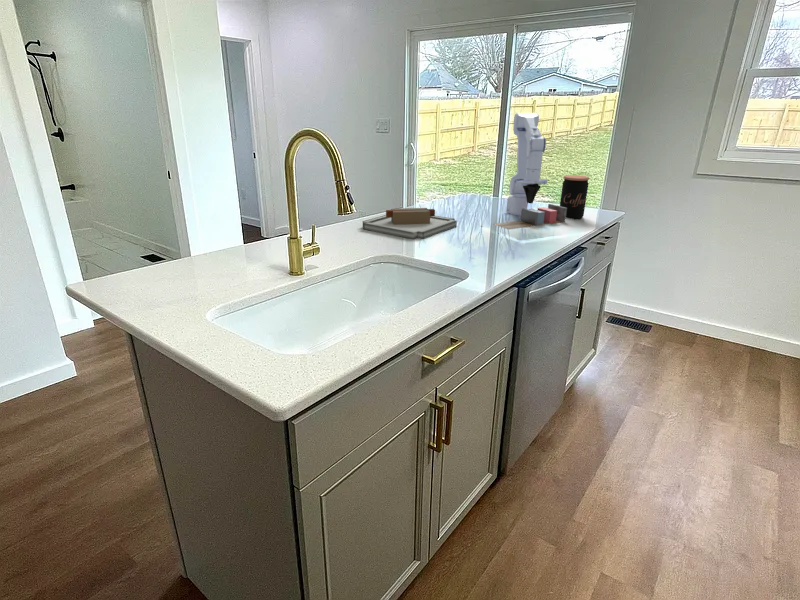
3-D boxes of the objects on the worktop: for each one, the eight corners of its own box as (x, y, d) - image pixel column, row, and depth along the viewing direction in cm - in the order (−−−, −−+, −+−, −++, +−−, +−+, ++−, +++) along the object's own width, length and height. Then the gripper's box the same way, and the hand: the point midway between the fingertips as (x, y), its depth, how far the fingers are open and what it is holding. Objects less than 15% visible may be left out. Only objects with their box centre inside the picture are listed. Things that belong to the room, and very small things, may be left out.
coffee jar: (558, 219, 207) (563, 177, 200) (558, 214, 216) (563, 174, 209) (583, 220, 204) (590, 178, 197) (582, 215, 213) (588, 175, 206)
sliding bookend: (520, 220, 199) (521, 208, 197) (522, 220, 199) (523, 208, 197) (534, 225, 191) (536, 212, 189) (536, 224, 191) (538, 212, 189)
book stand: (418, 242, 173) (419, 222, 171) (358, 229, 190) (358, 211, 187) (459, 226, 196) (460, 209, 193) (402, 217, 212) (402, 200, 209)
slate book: (523, 220, 199) (525, 209, 197) (530, 220, 200) (531, 208, 198) (536, 224, 192) (538, 212, 190) (543, 224, 194) (544, 212, 192)
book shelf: (493, 226, 194) (494, 209, 191) (548, 219, 206) (550, 203, 203) (508, 231, 186) (509, 214, 183) (565, 224, 198) (567, 207, 195)
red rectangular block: (536, 219, 202) (537, 207, 200) (542, 218, 203) (544, 207, 201) (549, 223, 195) (550, 211, 193) (555, 222, 196) (557, 210, 194)
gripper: (526, 171, 180) (522, 206, 185) (554, 169, 186) (550, 203, 191) (514, 169, 186) (511, 203, 191) (542, 167, 192) (538, 200, 197)
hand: (529, 203), depth 192 cm, fingers closed
